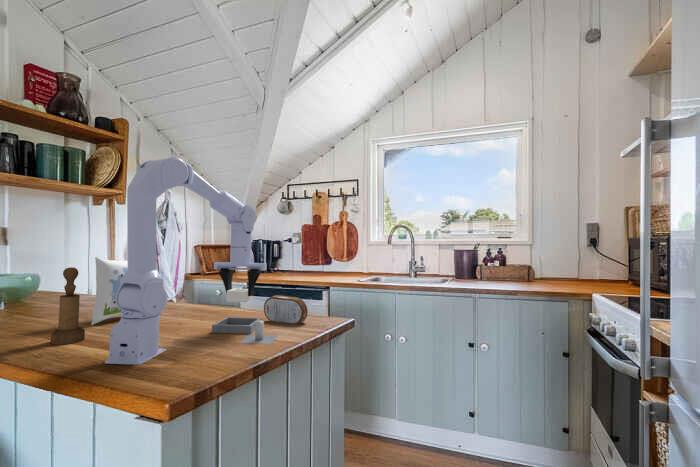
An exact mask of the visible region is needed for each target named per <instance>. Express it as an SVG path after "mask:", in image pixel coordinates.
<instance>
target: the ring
mask: <svg viewBox="0 0 700 467" xmlns="http://www.w3.org/2000/svg"><path fill="white" fill-rule="evenodd" d="M225 300H226V303H248V302H250V301H251V300H253V295H252V296H248V288H236V287H235V288H232V289H231V290H228V291H227V295H226V299H225Z"/></svg>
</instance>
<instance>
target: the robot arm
mask: <svg viewBox="0 0 700 467" xmlns="http://www.w3.org/2000/svg"><path fill="white" fill-rule="evenodd" d="M193 169H194V168H193V167H192V165H191V164H189V163H187V162H186V161H184V160H183V159H182V158H180V157H177V156H170V157H168V158H160V159H155V160H153V159H152V160H150V159H149V160H147V161H144V162H143V163H141V164H140V165H138V166H136V171H135V172H136V173H135V175H134V176H133V178H132V179H131V181H130V183H129V185H128V187H127V191H126V192H127V193H126V198H127V200H126V201H127V203H126V206H127V207H126V210H127V211H126V212H127V213H126V215H127V217H126V218H127V221H126V222H127V230H126V231H127V260H128V271H127V272H126V273H125V274H124V275H123V276H122V278H121V279H120V287H119V290H118V291H117V294H116V304H117V306H118V307H119V308H120V309H121V315H120V316H121V317H120V319H119V322H117V323H115V324H114V325H113V326H112V328H111V330H110V333H109V347H108V349H109V351H108V352H109V353H108V359H106V360H104V364H108V365H139V366H141V365H145V362H148V361H149V360H151V359H152V358H154V357H156V356H158V355H160V354H162V353H163V352H165V351H167V349H166V348H159V347H160V346H159V344H160V320H161V319H160V318H161V317H160V316H162V311H163V310H164V309H165V308H166V305H168V304H167V303H168V293H167V291H166V290H165V286H164V279H163V277H162V276H161V275H160V273H159V272H158V270H157V199H158V198H159V197H160V196H162V195H163V194H165V192H167V191H168V190H171V189H173V188H176V187H185V188H187V189H188V190H190V191H191V192H193V193H195V194H196V195H198V196H200V197H202V198H203V199H205V200H207V201H208V202H209V206H210V208H211V209H212V210H214V211H215V212H217V213H219V214H220V215H221V216H223V217H225V218H226V221H227V223H228V224H229V225H230V251H229V252H230V254H229V260H230V261H229V262H225V261H224V262H223V261H222V262H221V261H220V262H219V261H216V262H213V270H219V271H218V275H219V276H220V279H221V281H222V283H223V285H224V289H225V290H224V291H225V293H226V296H227V291H228V290H231V289H233V285H232V284H233V278H234V277H233V276H234V270H236V271H240V270H241V271H247V273H246V274H247V285H248V286H247V289H248V296H252V297H253V294H254V289H255V286H256V283H257V281H258V279H259V278H260V275H261V272H262V271H265V272H266V271H267V268H268V267H267V266H268V265H267V262H266V263H264V262H260V263H259V262H252V237H253V236H252V234H253V231H254V226H255V224H256V222H257V218H258V215H256V214H257V213H256V211H255V209H254V208H253V207H252V206H251V205H249V204H248V205H247V204H246V205H245V204H243V201H241V200H240V199H237V198H235V197H234V196H233V195H231V191H229V190H224V189H220V190H218V189H217V188H215V187H214V186H212V185H211V183H209V182H208V181H206V180H205V179H204V178H203V177H202V176H200V175H199V174H198V173H197V172H196V171H194V170H193Z"/></svg>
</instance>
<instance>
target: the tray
mask: <svg viewBox="0 0 700 467" xmlns="http://www.w3.org/2000/svg"><path fill="white" fill-rule="evenodd" d="M259 320H262V321H263V319H262V317H246V316H245V317H238V316H237V317H235V316H226V317H224V318H222V319H220V320H219V321H216V322H215V323H213V324H212V325H211V333H215V334H217V333H218V334H247V335H252V334H253V333H254V332H255V329H256V321H259Z"/></svg>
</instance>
